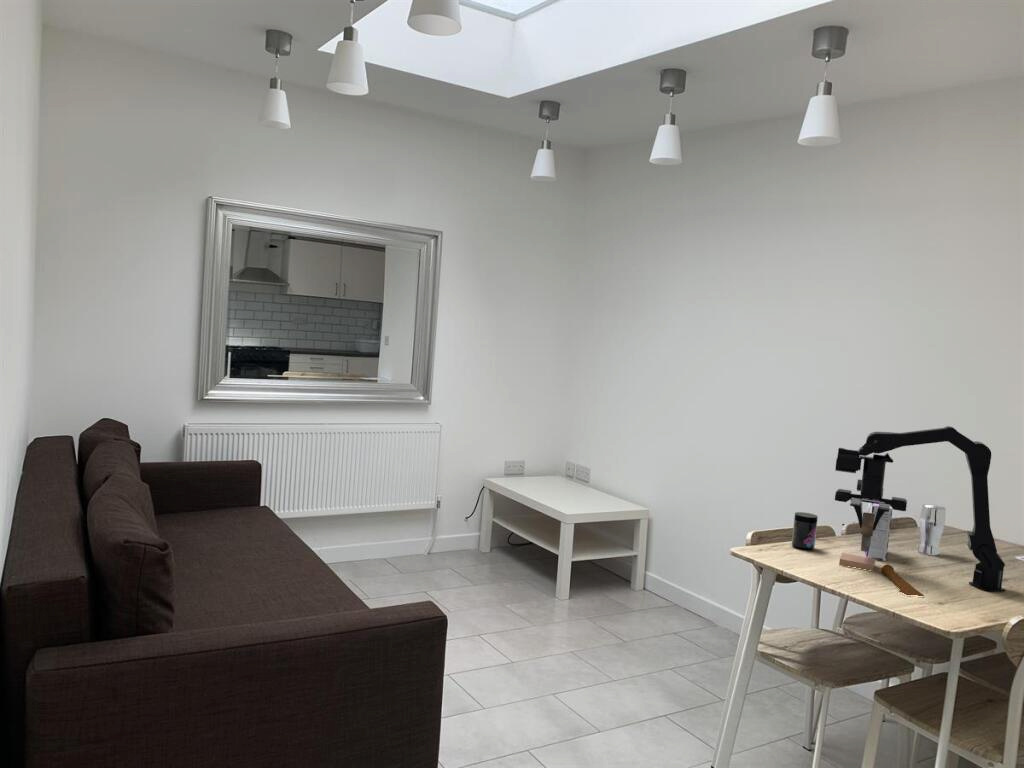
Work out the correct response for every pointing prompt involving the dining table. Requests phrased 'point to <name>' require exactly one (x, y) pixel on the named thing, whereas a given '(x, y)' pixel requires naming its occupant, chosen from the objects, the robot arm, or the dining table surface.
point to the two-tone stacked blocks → (867, 530)
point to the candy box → (879, 534)
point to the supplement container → (804, 531)
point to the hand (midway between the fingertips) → (867, 529)
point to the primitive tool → (899, 581)
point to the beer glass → (931, 529)
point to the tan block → (857, 561)
